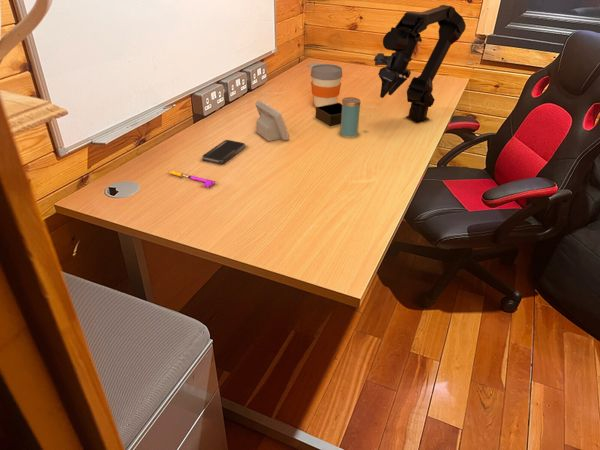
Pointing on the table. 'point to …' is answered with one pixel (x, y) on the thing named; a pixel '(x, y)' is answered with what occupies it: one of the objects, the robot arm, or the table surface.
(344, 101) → the tin
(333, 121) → the tray
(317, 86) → the reusable coffee cup
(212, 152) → the phone
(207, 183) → the multicoloured piece
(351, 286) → the table surface
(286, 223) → the table surface
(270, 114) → the digital clock
